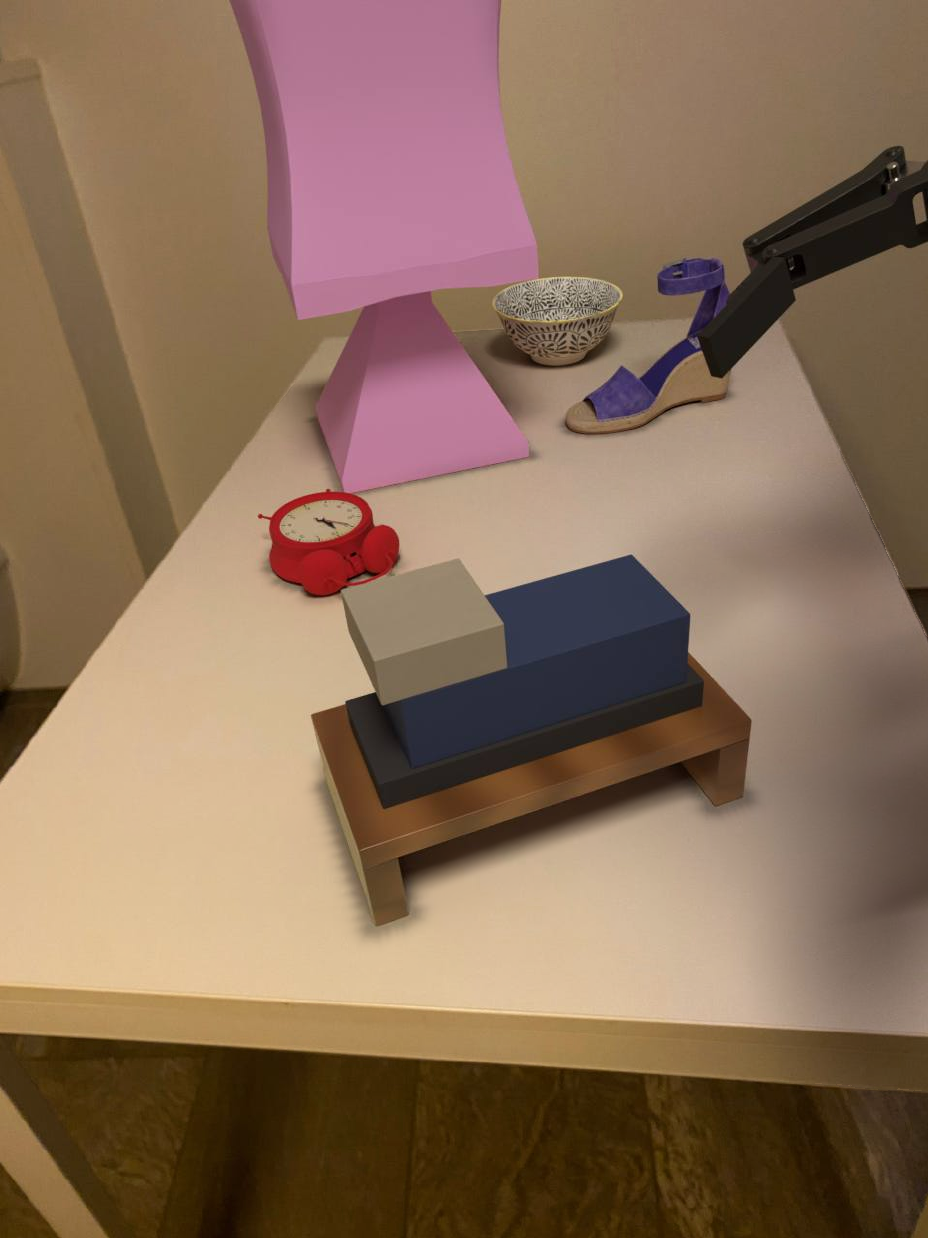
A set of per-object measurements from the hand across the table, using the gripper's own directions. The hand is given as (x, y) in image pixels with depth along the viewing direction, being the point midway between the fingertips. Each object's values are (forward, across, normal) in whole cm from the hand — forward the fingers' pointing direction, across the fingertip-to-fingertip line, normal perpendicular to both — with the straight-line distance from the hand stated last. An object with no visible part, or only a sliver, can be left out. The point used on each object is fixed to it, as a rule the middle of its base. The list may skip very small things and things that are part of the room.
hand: (820, 379), depth 45 cm
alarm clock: (+15, +44, -18) cm, 50 cm away
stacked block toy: (+18, +11, -13) cm, 25 cm away
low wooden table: (+21, +12, -19) cm, 31 cm away
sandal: (-24, +46, -35) cm, 62 cm away
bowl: (-28, +66, -34) cm, 80 cm away
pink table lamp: (-4, +60, -25) cm, 65 cm away
